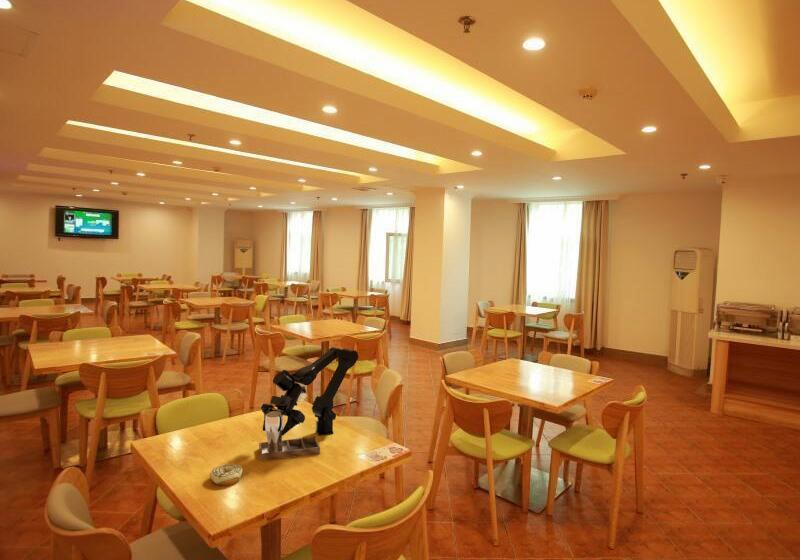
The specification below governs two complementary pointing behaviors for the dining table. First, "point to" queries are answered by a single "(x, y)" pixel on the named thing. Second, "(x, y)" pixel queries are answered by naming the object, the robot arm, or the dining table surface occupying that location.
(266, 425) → the metal cup
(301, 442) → the box
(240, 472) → the decorated donut
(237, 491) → the dining table surface
